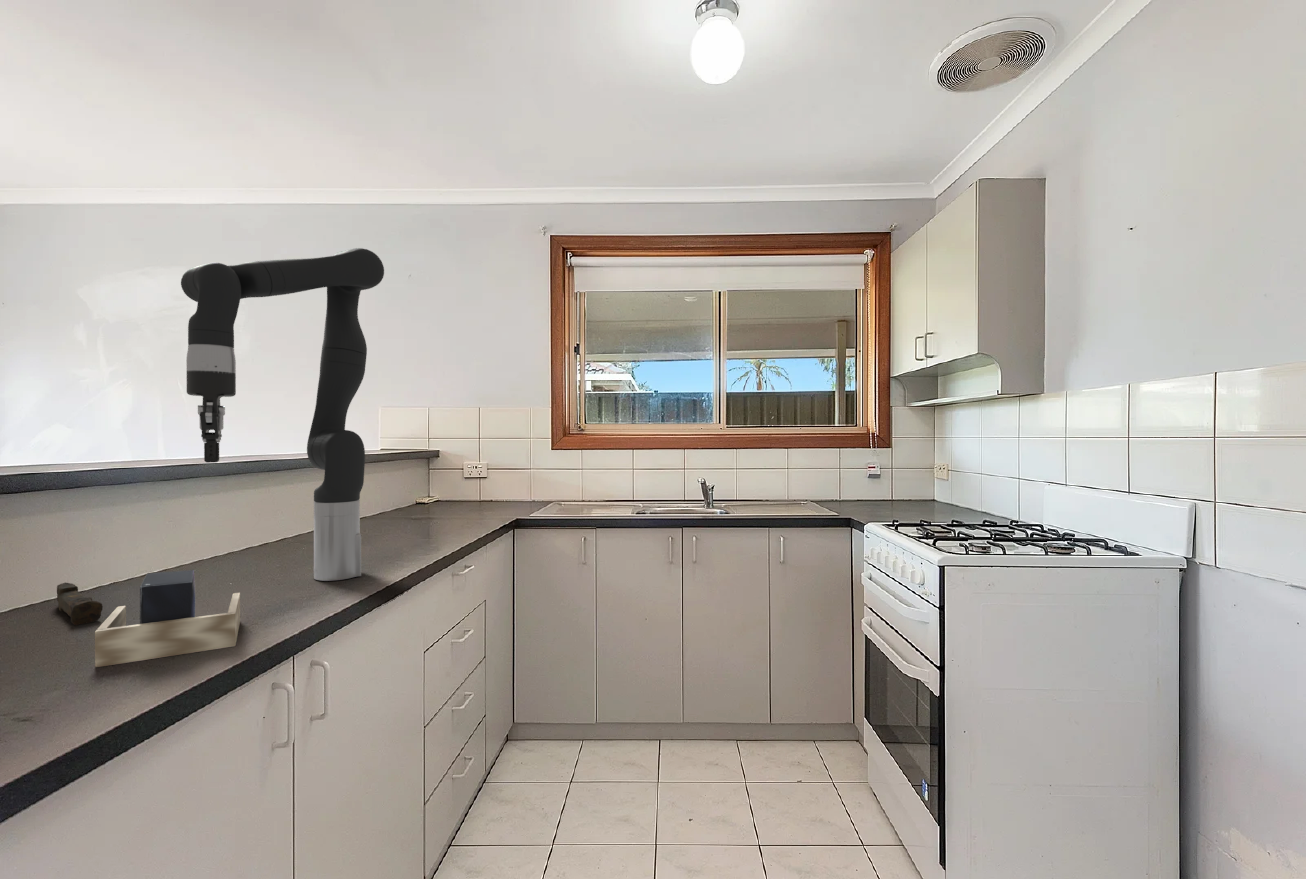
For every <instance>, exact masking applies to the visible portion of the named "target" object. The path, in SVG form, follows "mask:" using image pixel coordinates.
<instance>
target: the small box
mask: <svg viewBox="0 0 1306 879" xmlns="http://www.w3.org/2000/svg"><path fill="white" fill-rule="evenodd" d="M192 617H196V579H195V571H194V569H189V570H187V569H186V570H177V571H176V570H175V571H173V570H172V571H162V572H160V571H159V572H150V573H149V572H148V573H146V575H145V576H144V578H143V580H142V582H141V584H140V587H139V624H144V623H152V622H160V621H168V620H176V619H184V618H192Z"/></svg>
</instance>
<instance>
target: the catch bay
mask: <svg viewBox="0 0 1306 879" xmlns="http://www.w3.org/2000/svg"><path fill="white" fill-rule="evenodd" d="M240 624H241V592H234V593H232V596H231V600H230V604H229V606H228V611H227V612H223V613H217V614H216V613H215V614H208V615H201V616H195V617H192V618H184V619H176V620H168V621H160V622H152V623H144V624H140V623H139V624H130V625H127V605H121V606H117V607H116V608H115V609H114V610H113V611H112V612H110V614H109V615H108V617H107V618H106V619H105V620H104V621H103V622H102V623H101V624H100V626H99V627H97V629H96V630H95V631H94V654H95V655H94V660H95V662H94V664H95V665H94V666H95V668H101V667H107V666H112V665H120V664H126V663H127V664H128V663H132V662H133V663H134V662H140V661H146V660H151V659H154V660H155V659H158V658H165V657H173V656H179V655H185V654H193V653H198V652H205V651H212V650H219V649H225V648H231V647H236V644H237V640H238V634H239V630H240Z"/></svg>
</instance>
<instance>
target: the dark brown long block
mask: <svg viewBox="0 0 1306 879" xmlns="http://www.w3.org/2000/svg"><path fill="white" fill-rule="evenodd" d="M56 594H57V595H56V596H57V597H56V599H57V603H58V604H57V605H58V611H60V612H64V613H66V614H67V615H68V617H70V623H72V624H73V625H74V626H80V625H84V624H85V625H86V624H91V623H94V622H97V621H98V620H100V618H101V617H102V611H103V604H102V602H100V601H97V600H93V598H92V597H88V596H85V595H83V594H82V593H80V591H79V588H78V586H77V585H76V584H74V583H71V582H63V583H59V584H57V585H56Z"/></svg>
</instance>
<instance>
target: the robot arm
mask: <svg viewBox="0 0 1306 879" xmlns="http://www.w3.org/2000/svg"><path fill="white" fill-rule="evenodd" d="M384 277H385V267H384V263H383V262H382V260H381V258H380V257H379V256H378V255H377V253H375V252H373V251H372V250H369V249H367V248H363V247H358V248H357V247H356V248H350V249H347V250H343V251H339V252H336V253H335V254H333V255H330V256H320V257H310V258H290V259H289V258H287V259H286V258H285V259H284V258H283V259H268V260H255V261H247V262H242V263H239V264H233V265H232V264H231V265H227V264H225V263H220V262H209V263H204V264H201V265H197V266H195V267H191V268H189V269H187V270H186V271H185V272H184V274H182V276H181V280H180V286H181V290H182V291H183V293H184V294H185V296H187V298H189V299H190V300H192V301H194V302H196V303H197V305H196V311H195V313H194V314H192V315H191V316H190V318H189V319H188V323H187V324H188V325H187V352H186V394H187V395H189V396H192V397H193V396H195V397H202V405H200V404H199V405H197V414H198V415H199V429H200V430H201V436H200V437H201V439H202V441H203V445H204V446H203V449H204V450H203V454H204V455H203V458H204V459H203V460H204V462H205V463H218V462H219V461H220V443H221V441H222V437H223V435H222V430H224V416H225V415H226V406H225V405H221V399H222V398H227V397H228V398H231V397H235V396H236V391H237V390H236V388H237V387H236V386H237V385H236V384H237V382H236V381H237V380H236V378H237V375H236V374H237V370H236V367H237V366H236V365H237V362H236V354H235V331H234V325H235V323H236V322H235V321H236V318H237V316H238V310H239V307H240V301H241V300H242V299H247V298H266V297H267V298H268V297H274V296H283V295H290V294H296V293H300V292H301V293H302V292H306V291H310V290H316V289H322V288H326V309H325V310H326V314H325V319H324V320H325V322H324V331H323V339H322V340H323V342H322V345H321V346H322V347H321V356H320V363H319V376H318V384H317V392H316V401H315V407H314V413H313V418H312V421H311V425H310V430H309V435H308V437H307V438H308V439H307V444H306V454H307V458H308V460H309V462H310V464H311V465H312V466H314V467H315V468H317V469H319V470H323V471H324V476H323V480H322V483H321V485H319V486H318V487H316V488H315V489H314V491H313V578H314V580H315V581H316V580H317V581H321V582H322V581H324V582H328V581H329V582H330V581H342V580H348V579H351V578H355V577H356V578H357V577H362V534H361V533H360V532H361V529H360V528H361V525H360V524H361V520H360V519H361V517H360V516H361V513H360V512H361V508H360V507H361V504H360V501H361V499H360V498H361V495H360V494H361V491H362V489H363V486H364V482H365V466H366V465H365V462H366V452H365V451H366V450H365V445H364V442H363V439H362V438H361V437H360V436H359V434H357V432H354V431H352V430H348V429H346V421H347V414H348V410H349V407H350V405H351V404H352V401H353V399H354V398H355V396H356V394H357V392H358V390H359V388H360V386H361V384H362V382H363V380H364V377H365V373H366V363H367V355H368V354H367V352H368V347H367V343H366V338H365V334H364V333H363V329H362V327H361V324H360V320H359V314H358V310H359V300H360V295H361V291H364V290H365V291H366V290H369V289H373V288H375V287H376V286H378V285H379V284H380V283H381V282H382V280H383V279H384ZM210 431H211V432H210ZM212 431H214V432H212Z"/></svg>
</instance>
